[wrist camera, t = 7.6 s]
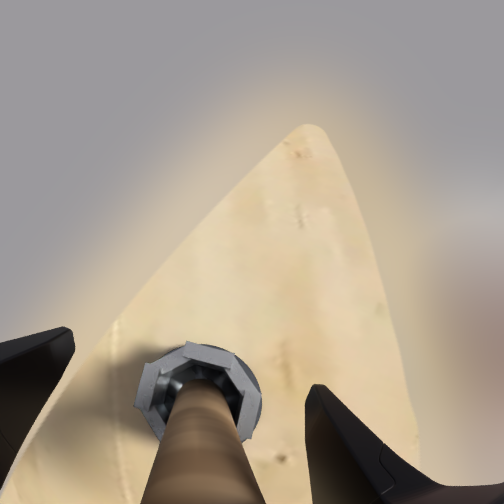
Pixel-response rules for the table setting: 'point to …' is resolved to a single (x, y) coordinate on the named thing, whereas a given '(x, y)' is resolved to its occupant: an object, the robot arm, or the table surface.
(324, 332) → the table surface
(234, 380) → the flanged castle nut
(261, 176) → the table surface
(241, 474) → the walnut pin
